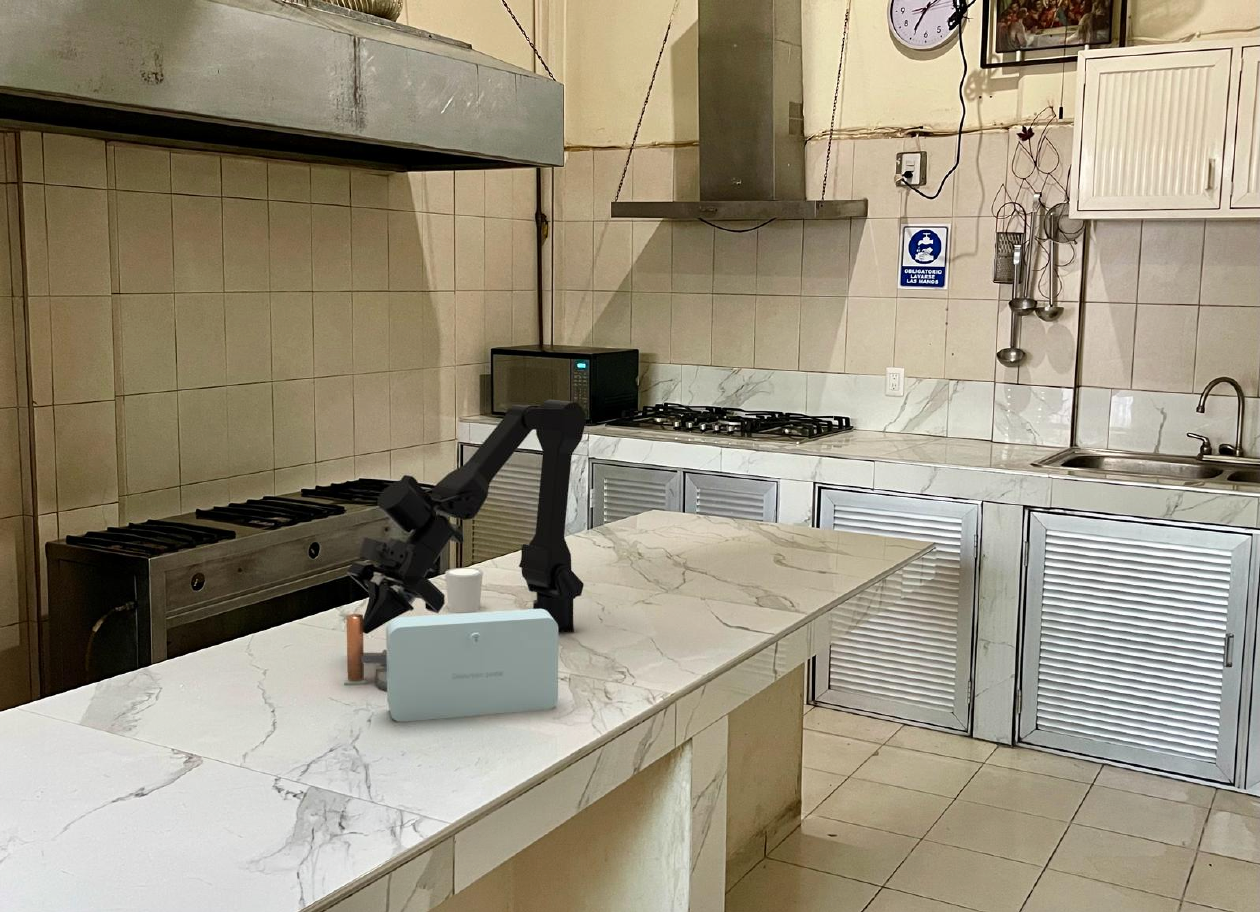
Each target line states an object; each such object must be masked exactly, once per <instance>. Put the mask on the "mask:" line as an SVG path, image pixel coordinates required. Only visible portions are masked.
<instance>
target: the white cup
mask: <svg viewBox="0 0 1260 912" xmlns="http://www.w3.org/2000/svg"><path fill="white" fill-rule="evenodd" d="M444 574H445V575H444V576H445V584H446V596H447V606H448V610H449V611H451V612H453V613H457V614H462V613H475V612H477V611H479V610H480V608H481V599H482V585H483V576H484V575H483V574H484V571H483V570H482V569H479V568H475V567H455V568H450V569H448V570H446V571H445V572H444Z"/></svg>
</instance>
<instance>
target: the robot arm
mask: <svg viewBox="0 0 1260 912" xmlns="http://www.w3.org/2000/svg"><path fill="white" fill-rule="evenodd" d="M586 421H587V414H586V411H585V410H584V408H583V406H582V405H581V404H579V403H577V402H574V401H567V400H556V399H547V400H544V401H543V402H542V403H541V404H540V405H539V404H538V405H537V404H535V405H534V404H532V405H531V404H529V405H527V404H526V405H523V404H522V405H521V404H514V405H512V406H510V407H508V409H507V410H506V412H505V416H504V417H503V418H502V420H501V421H500V422H499V423H498V424H497V426H496V427H494V429H493V430H492V432H491V433H490V434H489V435H488V437H487V438H485V440H484V441H483V443H482V444H481V445H480V446H479V448H478V449H477V450H476V451H475V452H474V453H473V455H472V456H471V457H470V459H468V461H467V462H466V463H465V464H463V465H461V467H458V468H456V469H454V470H452V471H450V472H449V473H447V475H445V476H444V477H443V478H442V479H441V480H440V481H438V482H437V483H436V484H435V486H434V487H433V488H431V489H427V490H425V489H424V488H423V487H422V486H421V485H420V484H419V482H418V480H417V479H416V478H415V477H414V476H412V475H407V474H405V475H403V476H402V477H401V479H399V480H397V481H394V482H393V483H391V484H389V485H388V486H387V487H386V488H384V489H382V491H381V492H380V493H379V495H378V498H377V501H376V502H377V506H378V508H379V509H380V510H381V511H382V512H383V513H384V514H385V515H386V516H388V518H389V519H390V520H391V521H392V522H393V523H394V524H395V525H396V526H397V527H398V528H400V530H402V531H403V532H408V531H410V533H409V534H408V535H407V537H406V538H405V539H404V540H403V541H402V540H399V539H396V538H393V537H391V538H390V539H389V540H388V541H387V542H384V541H381V540H377V539H373V538H369V537H363V540H362V543H361V546H360V549H359V551H358V554H357V558H359V559H361V560H359V561H353V562H352V563H351V565H350V567H348V569H347V570H346V574H347V575H348V576H350V577H351V578H352V579H353V580H354V581H355V582H356V583H357V584H358V585H360V587H362V588H363V589H364V590H365V591H366V592H368V596H369V597H368V601H367V605H366V609H365V612H364V616H363V634H364V635H365V634H366V635H367V634H369V633H371V632H373V631H374V630H376V629H378V628H379V627H382V626H383V625H385V624H387V623H389V622H390V621H391V620H392V619H394V618H397V617H400V616H401V615H404V614H405V613H407V612H411V611H412V612H413V610H415V608H414V606H413V603H414V602H415V601H416V599H421V600H423V602H425V603H424V605H425V609H426V610H427V611H429V612H432V613H436V614H439V613H440V611H441V609H443V607H444V605H445V603H446V599H445V597H446V596H445V594H444V593H443V592H442V591H441V590H440V588H438V587H437V586H436V585H435V584H434V583H433V582H431V580H429V579H428V578H427V577H426V576H427V574H428V573H429V572H433V573H435V572H436V570H437V569H438V568H439V566H438V565H437V564H436V563H435V562H436V561H437V559H438V558H439V557H440V555H441V554H442V552H443V551H444V550H445V548H446V546H447V545H448V544H449V542H455V543H459V544H463V543H464V536H463V533H462V529H463V528H462V525H459V524H455V523H452V522H451V521H450V520H449V519H448V518H447V517H450V518H452V519H458V520H462V521H466V520H472V519H474V518H475V517H476V516H477V515H478V513H479V512H480V510H481V508H482V507H483V505H484V503H485V502H486V500H487V498H488V496H489V488H490V485H491V484H492V481H493V480H494V478H495V477H496V476H497V474H498V473H499V472H500V470H501V469H502V468H503V466H504V465H505V464H506V463H507V462H508V460H509V459H510V458H511V457H512V455H513V454H514V453H515V452H516V450H517V449H519V447H520V446H521V444H522V443H523V442H524V441H525V439H526V438H527V437H528V436H529V434H530V433H531V432H532V431H533V430H535V435H536V438H537V439H538V441H539V445H540V447H541V449H542V459H541V460H542V461H541V470H540V480H539V491H538V492H539V493H538V500H537V501H538V503H537V512H536V513H537V515H536V524H535V533H534V535H533V537H532V539H531V540H530V542H529V543H528V544H527V543H523V544H522V545H521V549H520V550H521V551H520V552H521V557H520V562H519V565H518V568H521V576H522V578H524V580H525V581H526V585H527V589H528V591H529V592H530V593H532V592H533V593H536V599H534V600H533V601H532V602H533V603H532V606H533V608H532V609H544V610H546V611H547V612H548V613H549V614H550V615H551V616H552V618H553V619H554V620H555V621H556V623H557V625H558V633H575V625H574V600H575V599H576V598H577V597H581V596H582V592H583V589H584V586H585V585H584V582H583V581H582V580H581V579H580V578H579V577H578V576H577V575H576V573H574V572H573V570H572V553H571V551H570V549H569V547H568V544H567V541H566V538H565V531H566V522H567V521H566V520H567V510H568V501H569V500H568V499H569V488H570V477H571V469H572V468H571V467H572V457H573V453H574V452H575V450H576V449H577V448H578V446H579V444H580V443H581V441H582V440H583V435H584V432H585V431H584V430H585V426H586ZM364 559H366V560H368V561H371V562H375V563H377V564H376V565H374V563H370V562H366V561H363V560H364Z"/></svg>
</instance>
